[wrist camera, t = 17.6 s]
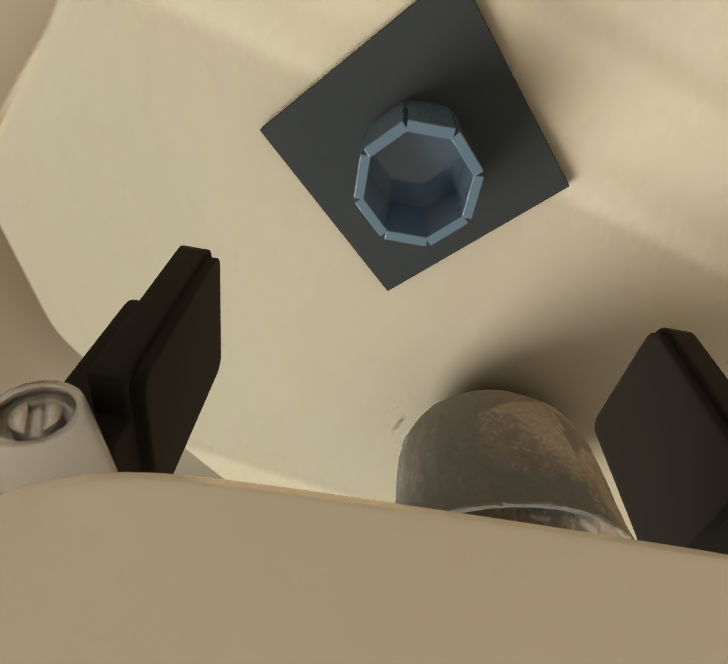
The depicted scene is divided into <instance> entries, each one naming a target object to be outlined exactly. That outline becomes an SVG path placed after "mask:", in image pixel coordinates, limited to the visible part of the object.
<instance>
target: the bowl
mask: <svg viewBox="0 0 728 664" xmlns="http://www.w3.org/2000/svg"><path fill="white" fill-rule="evenodd" d="M395 503H396V504H403V505H410V506H417V507H424V508H430V509H437V510H444V511H450V512H457V513H464V514H470V515H477V516H484V517H490V518H497V519H504V520H510V521H517V522H523V523H530V524H537V525H543V526H550V527H556V528H563V529H570V530H576V531H583V532H589V533H595V534H602V535H608V536H615V537H621V538H627V539H634V538H633V536H632V534H631V533H630V531H629V530H628V528H627V526H626V524H625V522H624V520H623V517H622V515H621V513H620V511H619V509H618V507H617V505H616V503H615V501H614V498H613V496H612V494H611V491H610V489H609V486H608V484H607V482H606V479H605V478H604V476H603V474H602V471H601V469H600V467H599V465H598V463H597V461H596V459H595V457H594V455H593V453H592V450H591V448H590V447H589V445H588V443H587V442H586V440H585V439H584V438H583V437H582V435H581V434H580V433H579V431H578V430H577V429H576V428H575V426H574V425H573V424H572V423H571V422H570V421H569V420H568V419H567V418H566V417H565V416H564V415H563V414H562V413H561V412H559V411H558V410H557V409H556V408H554V407H552V406H551V405H549V404H547V403H544V402H542V401H540V400H537V399H535V398H532V397H529V396H525V395H521V394H517V393H513V392H509V391H505V390H488V389H486V390H476V391H470V392H466V393H462V394H459V395H456V396H454V397H451V398H449V399H446V400H444V401H441V402H439V403H437V404H435V405H433V406H432V407H431V408H430V409H429V410H428V411H427V412H426V413H424V414H423V415H422V416H421V417H420V418H419V419H418V421H417V422H416V423H415V425H414V426H413V428H412V429H411V430H410V432H409V433H408V434H407V436H406V437H405V439H404V442H403V445H402V450H401V452H400V456H399V463H398V472H397V486H396V502H395ZM634 540H635V539H634Z"/></svg>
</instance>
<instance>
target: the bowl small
mask: <svg viewBox="0 0 728 664" xmlns="http://www.w3.org/2000/svg"><path fill="white" fill-rule="evenodd" d="M483 180H484V175H483V167H482V164H481V162H480V159H479V156H478V153H477V151H476V148H475V145H474V143H473V142H472V140H471V138H470V136H469V135H468V133H467V131H466V129H465V127H464V126H463V124H462V123H461V121H460V119H459V118H458V116H457V114H456V113H455V111H452V112H451V110H450V107H446V106H441V105H437V104H434V103H430V102H423V101H414V100H408V102H407V103H404V102H403V101H402V102H400V103H399V104H398V105H396V106H395V107H394V108H392V109H390V110H388V111H387V112H385V113H384V114H383V115H382V116H381V117H380V118H379V119H377V120H376V121H375V122H373V123H372V124H371V125H369V127H368V131H366V132H365V136H364V140H363V144H362V148H361V153H360V158H359V164H358V171H357V177H356V184H355V191H354V198H356V201H355V204H356V205H357V207H358V208H359V209H360V211H361V212H362V213H363V215H364V216H365V217H366V219H367V220H368V221H369V223H370V224H371V225H372V227H373V228H374V229H375V231H376V232H377V233H378V235H379V236H382V235H383V234H385V237H384V238H385V239H387V240H392V241H398V242H404V243H410V244H415V245H421V246H426V244H427V241H428V242H429V244H430V245H433V244H434V243H436V242H438V241H439V240H441V239H443V238H445V237H446V236H448V235H450V234H451V233H453V232H455V231H456V230H458V229H460V228H461V227H463V226H465V225H466V224H468V220H467V218H469V219H472V216H473V213H474V210H475V206H476V203H477V200H478V196H479V193H480V190H481V186H482V183H483Z"/></svg>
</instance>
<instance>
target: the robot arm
mask: <svg viewBox="0 0 728 664" xmlns="http://www.w3.org/2000/svg"><path fill="white" fill-rule="evenodd" d="M220 360H221V322H220V261H219V259H218V258H213V257H212V256H211V252H210V250H207V249H201V248H195V247H189V246H180V247H179V248H178V250H177V251H176V252H175V254H174V255H173V256H172V258H171V259H170V260H169V262H168V263H167V264H166V266H165V267H164V268H163V270H162V271H161V272H160V274H159V275H158V276H157V278H156V279H155V280H154V282H153V283H152V285H151V286H150V287H149V289H148V290H147V291H146V293H145V294H144V295H143V297H142V298H141V299H140V301H138V300H130V301H128V302H127V303H126V304H125V305H124V306H123V307H122V309H121V310H120V311H119V312H118V314H117V315H116V316H115V318H114V319H113V320H112V321H111V323H110V324H109V325H108V327H107V328H106V329H105V330H104V332H103V333H102V334H101V336H100V337H99V338H98V339H97V341H96V342H95V343H94V344H93V346H92V347H91V348H90V350H89V351H88V352H87V353H86V355H85V356H84V357H83V359H82V360H81V361H80V362H79V364H78V365H77V366H76V368H75V369H74V370H73V371H72V373H71V374H70V375H69V377H68V378H67V379H66V380H65V382H60V381H36V382H31V383H25V384H22V385H19V386H17V387H14V388H11V389H9V390H7V391H5V392H4V393H2V394H0V664H728V379H727V378H726V376H725V375H724V374H723V372H722V371H721V370H720V368H719V367H718V366H717V364H716V363H715V362H714V360H713V359H712V358H711V356H710V355H709V354H708V352H707V351H706V350H705V348H704V347H703V346H702V344H701V343H700V342H699V340H698V339H697V338H696V336H695V335H694V334H693V333H691V332H686V331H681V330H675V329H669V328H661V329H659V330H658V331H657V332H656V333H651V334H650V335H648V336H647V338H646V339H645V341H644V342H643V344H642V346H641V347H640V349H639V350H638V352H637V354H636V355H635V357H634V358H633V360H632V362H631V363H630V365H629V366H628V368H627V370H626V371H625V373H624V374H623V376H622V378H621V379H620V381H619V382H618V384H617V386H616V387H615V389H614V390H613V392H612V394H611V395H610V397H609V398H608V400H607V402H606V403H605V405H604V406H603V408H602V410H601V411H600V413H599V414H598V416H597V418H596V421H595V432H596V435H597V438H598V440H599V443H600V445H601V448H602V451H603V453H604V456H605V458H606V461H607V463H608V466H609V468H610V471H611V473H612V476H613V478H614V481H615V483H616V486H617V488H618V491H619V494H620V496H621V499H622V501H623V504H624V506H625V509H626V511H627V514H628V516H629V519H630V521H631V524H632V526H633V529H634V531H635V534H636V537H637V539H638V540H634V539H627V538H621V537H615V536H608V535H602V534H595V533H589V532H583V531H576V530H570V529H563V528H556V527H550V526H543V525H537V524H530V523H523V522H517V521H510V520H504V519H497V518H490V517H484V516H477V515H470V514H464V513H457V512H450V511H444V510H437V509H430V508H424V507H417V506H410V505H403V504H396V503H389V502H382V501H375V500H369V499H362V498H355V497H348V496H341V495H334V494H327V493H320V492H313V491H306V490H300V489H293V488H285V487H278V486H270V485H262V484H254V483H247V482H239V481H231V480H224V479H216V478H208V477H199V476H187V475H177V474H173V473H174V471H175V469H176V466H177V464H178V462H179V460H180V457H181V455H182V453H183V450H184V448H185V446H186V444H187V441H188V439H189V437H190V434H191V432H192V430H193V428H194V425H195V423H196V421H197V418H198V416H199V414H200V412H201V409H202V407H203V405H204V402H205V400H206V398H207V396H208V393H209V391H210V389H211V386H212V384H213V382H214V380H215V377H216V375H217V373H218V370H219V366H220Z"/></svg>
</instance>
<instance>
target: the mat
mask: <svg viewBox="0 0 728 664" xmlns="http://www.w3.org/2000/svg"><path fill="white" fill-rule="evenodd" d="M408 100H414V101H423V102H430V103H434V104H437V105H441V106H446V107H450V110H451V112H452V111H455V113H456V114H457V116H458V118H459V119H460V121H461V123H462V124H463V126H464V127H465V129H466V131H467V133H468V135H469V136H470V138H471V140H472V142H473V143H474V145H475V148H476V151H477V153H478V156H479V159H480V162H481V164H482V167H483V175H484V180H483V183H482V186H481V190H480V193H479V196H478V200H477V203H476V206H475V210H474V213H473V216H472V219H469V218H467V220H468V224H466V225H465V226H463V227H461V228H460V229H458V230H456V231H455V232H453V233H451V234H450V235H448V236H446V237H445V238H443V239H441V240H439V241H438V242H436V243H434V244H433V245H430V244H429V242H428V241H427V244H426V246H421V245H415V244H410V243H404V242H398V241H392V240H387V239H385V238H384V237H385V234H383V235H382V236H379V235H378V233H377V232H376V231H375V229H374V228H373V227H372V225H371V224H370V223H369V221H368V220H367V219H366V217H365V216H364V215H363V213H362V212H361V211H360V209H359V208H358V207H357V205H356V204H355V201H356V198H354V191H355V184H356V177H357V171H358V164H359V158H360V153H361V148H362V144H363V140H364V136H365V132H366V131H368V127H369V125H371V124H372V123H373V122H375V121H376V120H377V119H379V118H380V117H381V116H382V115H383V114H384V113H385V112H387V111H388V110H390V109H392V108H394V107H395V106H396V105H398V104H399V103H400V102H402V101H403V102H404V103H407V102H408ZM260 131H261V132H262V133H263V135H264V136H265V137H266V138H267V140H268V141H269V142H270V144H271V145H272V146H273V147H274V149H275V150H276V151H277V152H278V154H279V155H280V156H281V157H282V159H283V160H284V161H285V162H286V164H287V165H288V166H289V167H290V169H291V170H292V171H293V172H294V174H295V175H296V176H297V178H298V179H299V180H300V181H301V183H302V184H303V185H304V186H305V188H306V189H307V190H308V191H309V193H310V194H311V195H312V196H313V198H314V199H315V200H316V201H317V203H318V204H319V205H320V206H321V208H322V209H323V210H324V212H325V213H326V214H327V215H328V217H329V218H330V219H331V220H332V222H333V223H334V224H335V225H336V227H337V228H338V229H339V230H340V232H341V233H342V234H343V235H344V237H345V238H346V239H347V240H348V242H349V243H350V244H351V245H352V247H353V248H354V249H355V251H356V252H357V253H358V254H359V256H360V257H361V258H362V259H363V261H364V262H365V263H366V264H367V266H368V267H369V268H370V269H371V271H372V272H373V273H374V274H375V276H376V277H377V278H378V279H379V281H380V282H381V283H382V285H383V286H384V287H385V288H386V290H387V291H388V290H390V289H392V288H394V287H395V286H397V285H399V284H401V283H402V282H404V281H406V280H408V279H409V278H411V277H413V276H414V275H416V274H418V273H420V272H421V271H423V270H425V269H427V268H428V267H430V266H432V265H434V264H435V263H437V262H439V261H440V260H442V259H444V258H446V257H447V256H449V255H451V254H453V253H454V252H456V251H458V250H460V249H461V248H463V247H465V246H466V245H468V244H470V243H472V242H473V241H475V240H477V239H479V238H480V237H482V236H484V235H486V234H487V233H489V232H491V231H492V230H494V229H496V228H498V227H499V226H501V225H503V224H505V223H506V222H508V221H510V220H512V219H513V218H515V217H517V216H518V215H520V214H522V213H524V212H525V211H527V210H529V209H531V208H532V207H534V206H536V205H538V204H539V203H541V202H543V201H544V200H546V199H548V198H550V197H551V196H553V195H555V194H557V193H558V192H560V191H562V190H564V189H565V188H567V187H569V184H568V182H567V180H566V178H565V176H564V175H563V173H562V171H561V169H560V167H559V165H558V163H557V161H556V159H555V157H554V155H553V153H552V151H551V149H550V147H549V145H548V143H547V141H546V139H545V137H544V135H543V134H542V132H541V130H540V128H539V126H538V124H537V122H536V120H535V118H534V116H533V114H532V112H531V110H530V108H529V106H528V104H527V102H526V100H525V98H524V96H523V94H522V93H521V91H520V89H519V87H518V85H517V83H516V81H515V79H514V77H513V75H512V73H511V71H510V69H509V67H508V65H507V63H506V61H505V59H504V57H503V55H502V54H501V52H500V50H499V48H498V46H497V44H496V42H495V40H494V38H493V36H492V34H491V32H490V30H489V28H488V26H487V24H486V22H485V20H484V18H483V16H482V14H481V13H480V11H479V9H478V7H477V5H476V3H475V1H474V0H417V1H416V2H414V3H413V4H412V5H411V6H409V7H408V8H407V9H406V10H405V11H403V12H402V13H401V14H400V15H399V16H397V17H396V18H395V19H394V20H392V21H391V22H390V23H389V24H388V25H386V26H385V27H384V28H383V29H381V30H380V31H379V32H378V33H377V34H375V35H374V36H373V37H372V38H370V39H369V40H368V41H367V42H366V43H364V44H363V45H362V46H361V47H360V48H358V49H357V50H356V51H355V52H353V53H352V54H351V55H350V56H349V57H347V58H346V59H345V60H344V61H342V62H341V63H340V64H339V65H338V66H336V67H335V68H334V69H333V70H332V71H330V72H329V73H328V74H327V75H325V76H324V77H323V78H322V79H321V80H319V81H318V82H317V83H316V84H314V85H313V86H312V87H311V88H310V89H308V90H307V91H306V92H305V93H303V94H302V95H301V96H300V97H299V98H297V99H296V100H295V101H294V102H293V103H291V104H290V105H289V106H288V107H286V108H285V109H284V110H283V111H282V112H280V113H279V114H278V115H277V116H275V117H274V118H273V119H272V120H271V121H269V122H268V123H267V124H266V125H264V126H263V127H262V128H261V129H260Z"/></svg>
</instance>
